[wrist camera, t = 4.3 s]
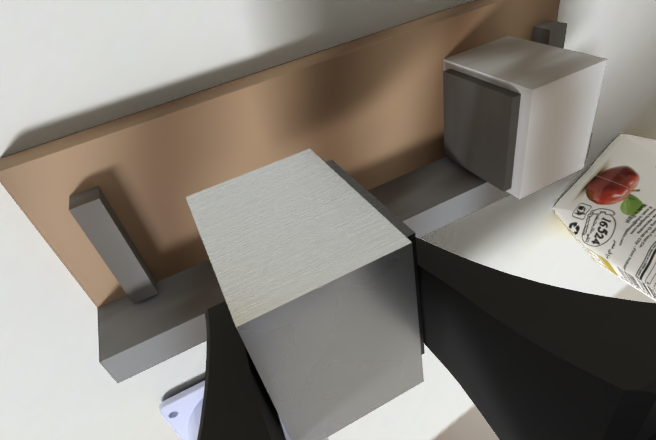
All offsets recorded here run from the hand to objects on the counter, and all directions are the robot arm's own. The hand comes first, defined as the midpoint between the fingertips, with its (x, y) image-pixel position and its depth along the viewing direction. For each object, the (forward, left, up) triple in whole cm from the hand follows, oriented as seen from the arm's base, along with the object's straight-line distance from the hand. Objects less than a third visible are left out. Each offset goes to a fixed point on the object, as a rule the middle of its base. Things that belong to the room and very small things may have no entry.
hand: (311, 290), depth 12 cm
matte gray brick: (0, 0, -2) cm, 2 cm away
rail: (-1, -5, -9) cm, 10 cm away
